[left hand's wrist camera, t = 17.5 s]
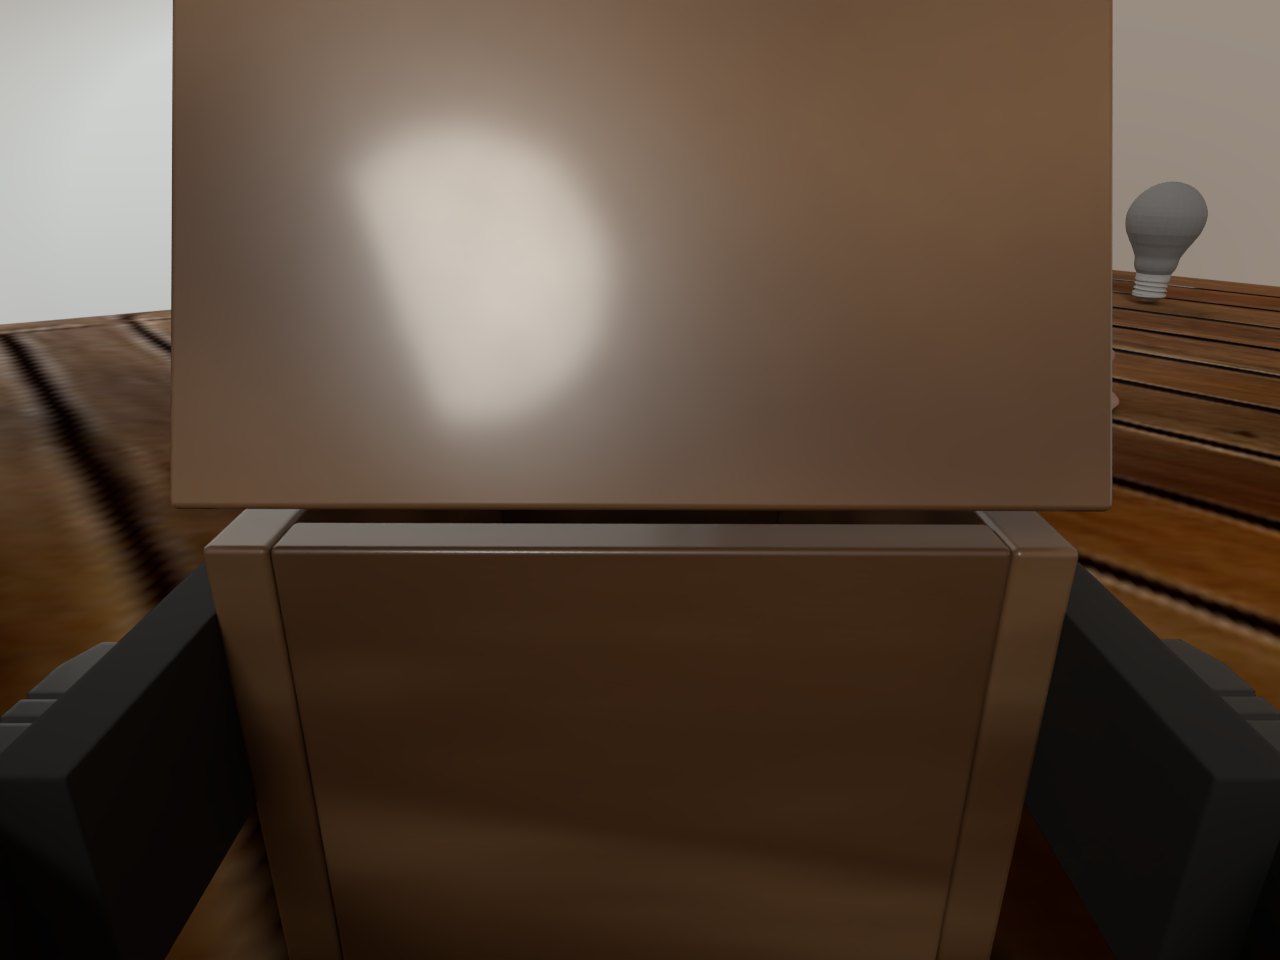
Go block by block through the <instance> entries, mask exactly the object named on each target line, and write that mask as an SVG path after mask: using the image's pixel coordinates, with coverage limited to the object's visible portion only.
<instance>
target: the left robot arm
mask: <svg viewBox="0 0 1280 960" xmlns="http://www.w3.org/2000/svg"><path fill="white" fill-rule="evenodd" d="M1024 803H1025V804H1026V806H1027V808H1028V809H1029V811H1030V813H1031V814H1032V816H1033V818H1034V820H1035V821H1036V823H1037V825H1038V826H1039V828H1040V830H1041V832H1042V833H1043V835H1044V837H1045V838H1046V840H1047V842H1048V843H1049V845H1050V847H1051V849H1052V850H1053V852H1054V854H1055V855H1056V857H1057V859H1058V861H1059V862H1060V864H1061V866H1062V867H1063V869H1064V871H1065V872H1066V874H1067V876H1068V878H1069V879H1070V881H1071V883H1072V884H1073V886H1074V888H1075V890H1076V891H1077V893H1078V895H1079V896H1080V898H1081V900H1082V901H1083V903H1084V905H1085V907H1086V908H1087V910H1088V912H1089V913H1090V915H1091V917H1092V918H1093V920H1094V922H1095V924H1096V925H1097V927H1098V929H1099V930H1100V932H1101V934H1102V936H1103V937H1104V939H1105V941H1106V942H1107V944H1108V946H1109V947H1110V949H1111V951H1112V953H1113V954H1114V956H1115V958H1116V959H1117V960H1280V712H1279V711H1277V710H1276V709H1275V708H1274V707H1273V706H1272V705H1271V704H1269V703H1268V702H1267V701H1266V700H1265V699H1264V698H1263V697H1256V695H1255V690H1254V689H1252V688H1251V687H1250V686H1249V685H1248V684H1247V683H1246V682H1245V681H1243V680H1242V679H1241V678H1240V677H1239V676H1238V675H1237V674H1235V673H1234V672H1233V671H1232V670H1231V669H1230V668H1229V667H1228V666H1226V665H1225V664H1224V663H1223V662H1221V661H1219V660H1217V659H1215V658H1213V657H1211V656H1210V655H1208V654H1206V653H1204V652H1202V651H1200V650H1199V649H1197V648H1195V647H1193V646H1191V645H1189V644H1188V643H1186V642H1184V641H1182V640H1173V639H1159V638H1158V637H1157V636H1156V635H1155V634H1154V633H1153V632H1152V631H1151V630H1150V629H1149V628H1147V627H1146V626H1145V625H1144V624H1143V623H1142V622H1141V621H1140V620H1139V619H1138V618H1137V617H1136V616H1135V615H1134V614H1133V613H1132V612H1131V611H1129V610H1128V609H1127V608H1126V607H1125V606H1124V605H1123V604H1122V603H1121V602H1120V601H1119V600H1118V599H1117V598H1116V597H1115V596H1114V595H1113V594H1111V593H1110V592H1109V591H1108V590H1107V589H1106V588H1105V587H1104V586H1103V585H1102V584H1101V583H1100V582H1099V581H1098V580H1097V579H1096V578H1095V577H1093V576H1092V575H1091V574H1090V573H1089V572H1088V571H1087V570H1086V569H1085V568H1084V567H1083V566H1082V565H1081V564H1080V563H1079V562H1078V561H1077V565H1076V569H1075V574H1074V578H1073V583H1072V587H1071V592H1070V596H1069V601H1068V605H1067V610H1066V613H1065V617H1064V621H1063V626H1062V631H1061V635H1060V640H1059V644H1058V649H1057V654H1056V658H1055V663H1054V667H1053V672H1052V677H1051V681H1050V686H1049V690H1048V695H1047V700H1046V704H1045V709H1044V713H1043V718H1042V723H1041V727H1040V732H1039V737H1038V741H1037V746H1036V750H1035V755H1034V760H1033V764H1032V769H1031V773H1030V778H1029V783H1028V787H1027V792H1026V796H1025V801H1024ZM255 804H256V797H255V793H254V788H253V783H252V779H251V774H250V770H249V765H248V760H247V756H246V751H245V746H244V742H243V737H242V732H241V728H240V723H239V718H238V714H237V709H236V704H235V700H234V695H233V690H232V686H231V681H230V676H229V672H228V667H227V663H226V658H225V653H224V649H223V644H222V639H221V635H220V630H219V625H218V621H217V616H216V611H215V607H214V602H213V597H212V593H211V588H210V583H209V578H208V574H207V569H206V564H205V560H204V561H203V562H202V563H201V564H200V565H199V566H198V567H197V568H196V569H195V570H194V571H193V572H192V573H191V574H190V575H189V576H188V577H187V578H185V579H184V580H183V581H182V582H181V583H180V584H179V585H178V586H177V587H176V588H175V589H174V590H173V591H172V592H171V593H170V594H169V595H167V596H166V597H165V598H164V599H163V600H162V601H161V602H160V603H159V604H158V605H157V606H156V607H155V608H154V609H153V610H152V611H151V612H149V613H148V614H147V615H146V616H145V617H144V618H143V619H142V620H141V621H140V622H139V623H138V624H137V625H136V626H135V627H134V628H133V629H132V630H130V631H129V632H128V633H127V634H126V635H125V636H124V637H123V638H122V639H121V640H120V641H119V642H101V643H99V644H98V645H96V646H94V647H92V648H90V649H88V650H87V651H85V652H83V653H81V654H79V655H78V656H76V657H74V658H72V659H70V660H68V661H67V662H65V663H63V664H61V665H59V666H58V667H57V668H56V669H54V670H53V671H52V672H51V673H50V674H49V675H48V676H47V677H45V678H44V679H43V680H42V681H41V682H40V683H39V684H38V685H36V686H35V687H34V688H33V689H32V690H31V691H30V692H29V693H27V699H21V700H20V701H18V702H17V703H16V704H15V705H14V706H13V707H12V708H11V709H9V710H8V711H7V712H6V713H5V714H4V715H3V716H2V717H1V721H0V960H164V959H165V958H166V956H167V954H168V953H169V951H170V949H171V947H172V946H173V944H174V942H175V941H176V939H177V937H178V936H179V934H180V932H181V930H182V929H183V927H184V925H185V924H186V922H187V920H188V918H189V917H190V915H191V913H192V912H193V910H194V908H195V907H196V905H197V903H198V901H199V900H200V898H201V896H202V895H203V893H204V891H205V889H206V888H207V886H208V884H209V883H210V881H211V879H212V878H213V876H214V874H215V872H216V871H217V869H218V867H219V866H220V864H221V862H222V860H223V859H224V857H225V855H226V854H227V852H228V850H229V849H230V847H231V845H232V843H233V842H234V840H235V838H236V837H237V835H238V833H239V831H240V830H241V828H242V826H243V825H244V823H245V821H246V820H247V818H248V816H249V814H250V813H251V811H252V809H253V808H254V806H255Z"/></svg>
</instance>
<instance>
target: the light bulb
mask: <svg viewBox="0 0 1280 960" xmlns="http://www.w3.org/2000/svg"><path fill="white" fill-rule="evenodd" d="M1207 216H1208V211H1207V206H1206V203H1205V200H1204V198H1203V197H1202V195H1201V194H1200V193H1199V192H1198V191H1197V190H1196V189H1195V188H1194V187H1192V186H1190V185H1188V184H1184V183H1181V182H1165V183H1161V184H1157V185H1155V186H1152V187H1150V188H1149V189H1147V190H1146V191H1144V192H1143V193H1142V194H1141V195H1139V196H1138V197H1137V198H1136V199H1135V201H1134V202H1133V203H1132V205H1131V206H1130V208H1129V210H1128V212H1127V216H1126V232H1127V235H1128V237H1129V241H1130V243H1131V245H1132V248H1133V251H1134V254H1135V260H1134V266H1135V270H1136V277H1135V279H1137V281H1135V283H1136V285H1135V286H1134V288H1135V290H1133V291H1132V295H1134V296H1135V297H1137V298H1139V300H1142V301H1150V302H1152V301H1157V300H1159V299H1162V298H1164V297H1166V294H1164V293H1165V292H1167V290H1165V288H1166V287H1168V286H1166V284H1167V282H1169V280H1170V276H1171V274H1172V273H1173V272H1174V271H1175V269H1176V267H1177V265H1178V262H1179V260H1180V258H1181V256H1182V255H1183V254H1184V252H1185V251H1186V250H1187V249H1188V248H1189V246H1190V245H1191V244H1192V243H1193V242H1194V241H1195V240H1196V238H1197V237H1198V236H1199V235H1200V234H1201V232H1202V230H1203V228H1204V226H1205V224H1206V221H1207Z"/></svg>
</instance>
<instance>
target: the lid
mask: <svg viewBox="0 0 1280 960" xmlns="http://www.w3.org/2000/svg"><path fill="white" fill-rule="evenodd" d="M171 292H172V293H171V294H172V295H171V491H170V502H171V505H172V506H173V507H175V508H177V509H419V510H774V511H1106V510H1109V509H1111V506H1112V0H173V90H172V291H171Z"/></svg>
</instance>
